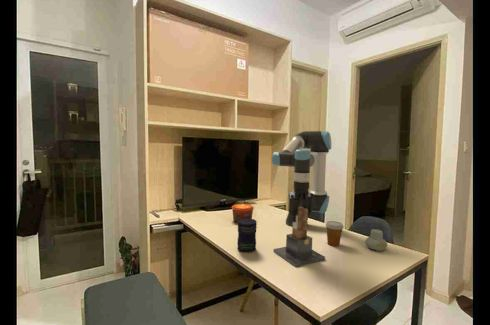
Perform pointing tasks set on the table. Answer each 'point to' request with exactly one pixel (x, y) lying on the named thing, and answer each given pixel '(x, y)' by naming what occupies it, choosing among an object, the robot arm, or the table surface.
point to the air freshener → (376, 240)
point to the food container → (242, 211)
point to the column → (301, 224)
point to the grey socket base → (298, 251)
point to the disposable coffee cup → (334, 232)
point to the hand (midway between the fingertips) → (299, 227)
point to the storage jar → (246, 235)
